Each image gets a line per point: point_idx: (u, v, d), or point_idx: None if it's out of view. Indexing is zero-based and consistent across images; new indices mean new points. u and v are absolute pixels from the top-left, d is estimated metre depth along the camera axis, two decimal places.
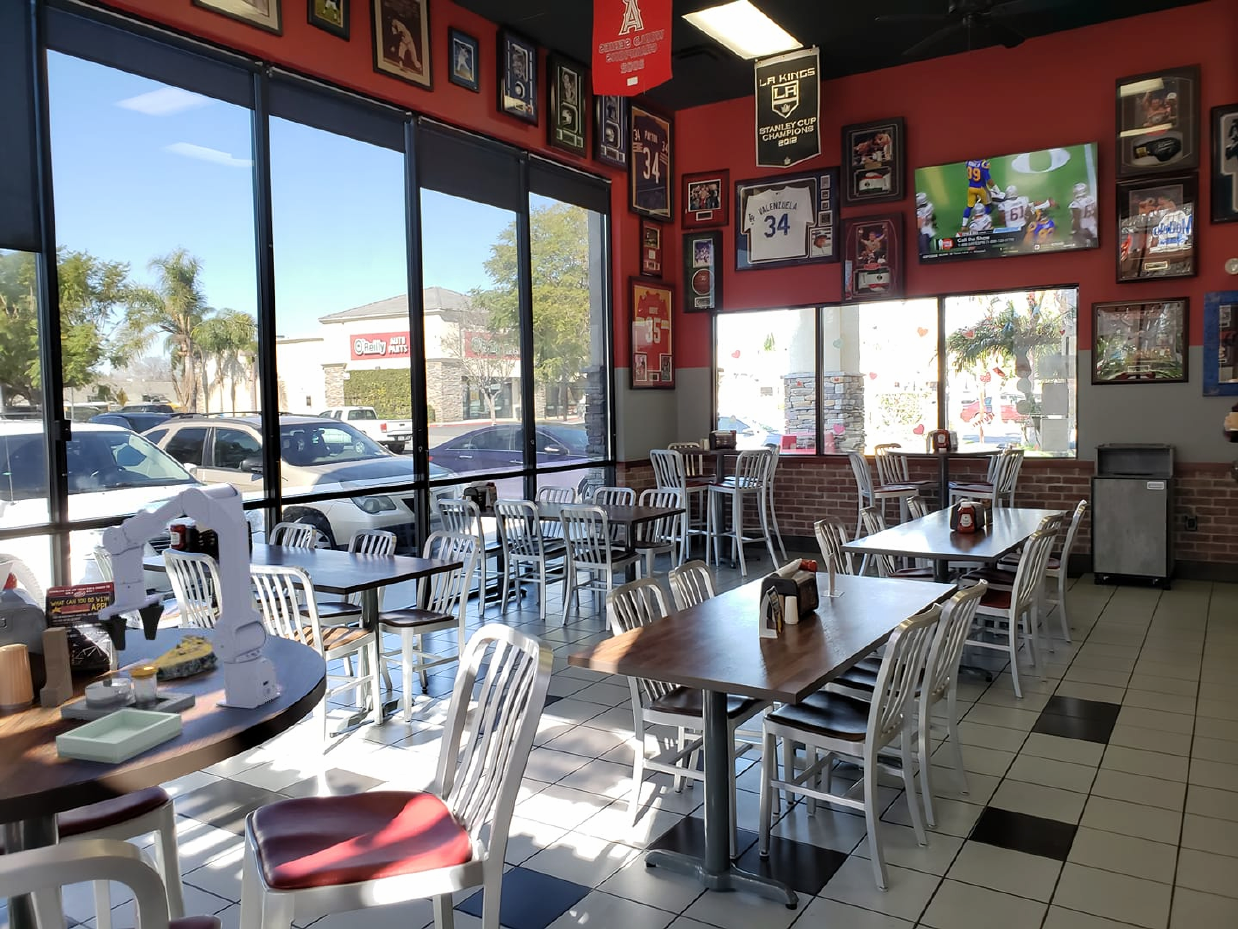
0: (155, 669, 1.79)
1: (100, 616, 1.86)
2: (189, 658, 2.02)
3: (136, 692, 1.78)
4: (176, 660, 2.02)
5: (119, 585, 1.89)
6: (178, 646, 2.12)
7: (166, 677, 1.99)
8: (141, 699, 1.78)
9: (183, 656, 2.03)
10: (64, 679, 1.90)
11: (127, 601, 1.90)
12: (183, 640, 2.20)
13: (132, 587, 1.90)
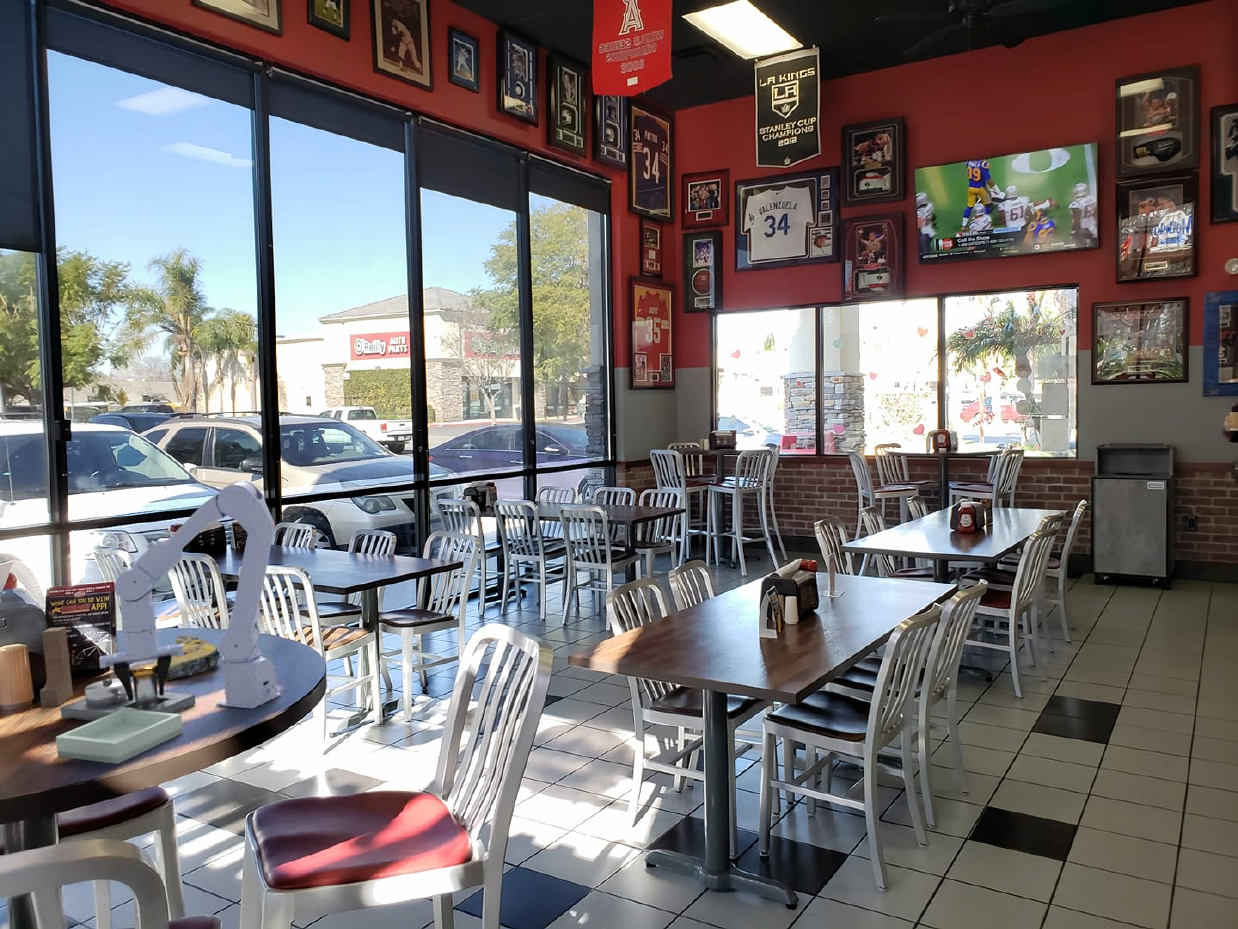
0: (155, 669, 1.79)
1: None
2: (193, 657, 2.02)
3: (136, 692, 1.78)
4: (180, 659, 2.02)
5: (123, 633, 1.77)
6: None
7: (171, 676, 1.99)
8: (141, 699, 1.78)
9: (186, 655, 2.04)
10: (64, 679, 1.90)
11: (127, 651, 1.77)
12: (178, 641, 2.19)
13: (130, 637, 1.76)
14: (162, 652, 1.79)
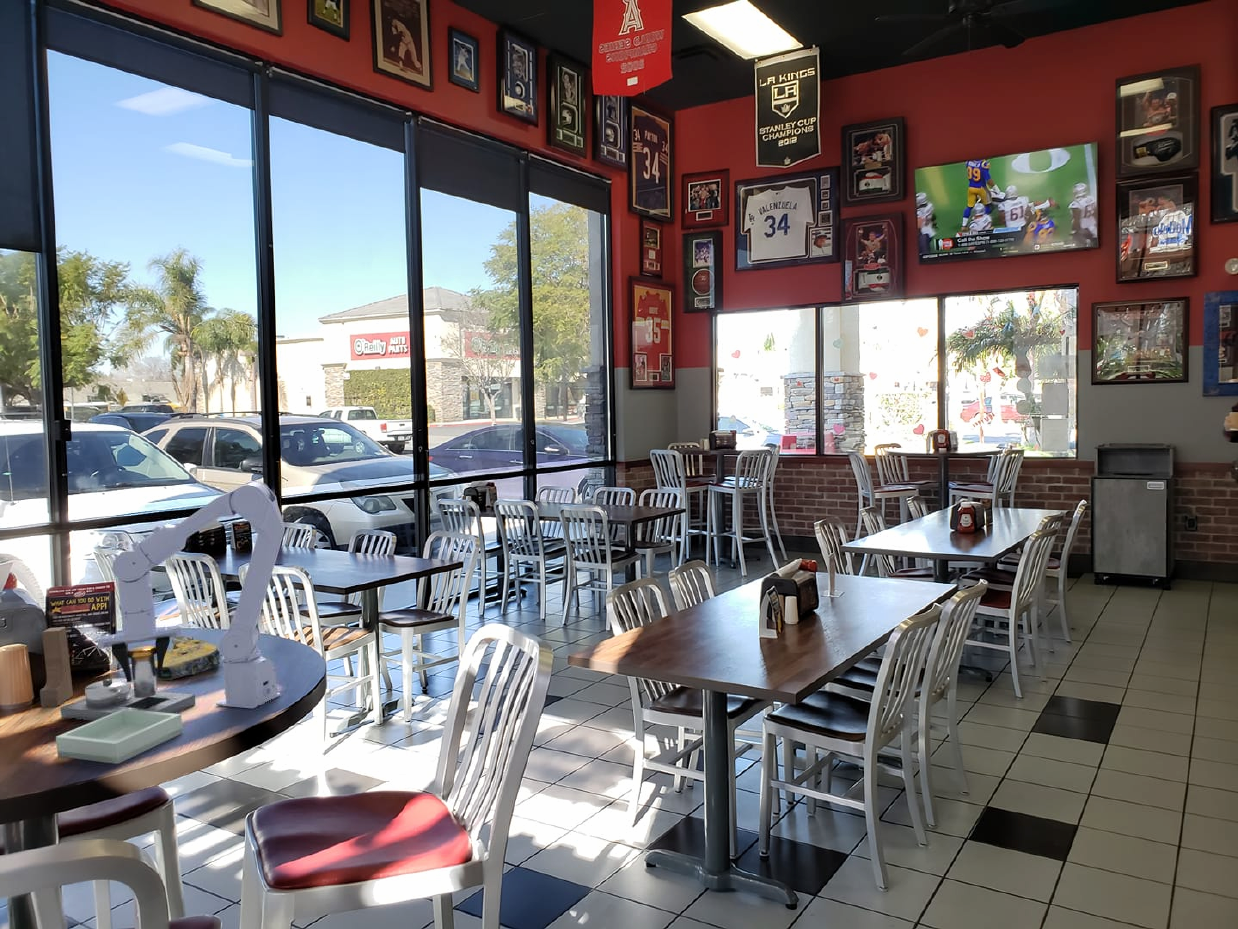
0: (153, 650, 1.79)
1: None
2: (196, 656, 2.03)
3: (134, 673, 1.78)
4: (182, 658, 2.02)
5: (121, 613, 1.77)
6: (175, 646, 2.12)
7: (174, 676, 2.00)
8: (139, 680, 1.78)
9: (188, 655, 2.04)
10: (64, 679, 1.90)
11: (125, 632, 1.76)
12: (175, 641, 2.19)
13: (128, 618, 1.76)
14: (160, 633, 1.79)
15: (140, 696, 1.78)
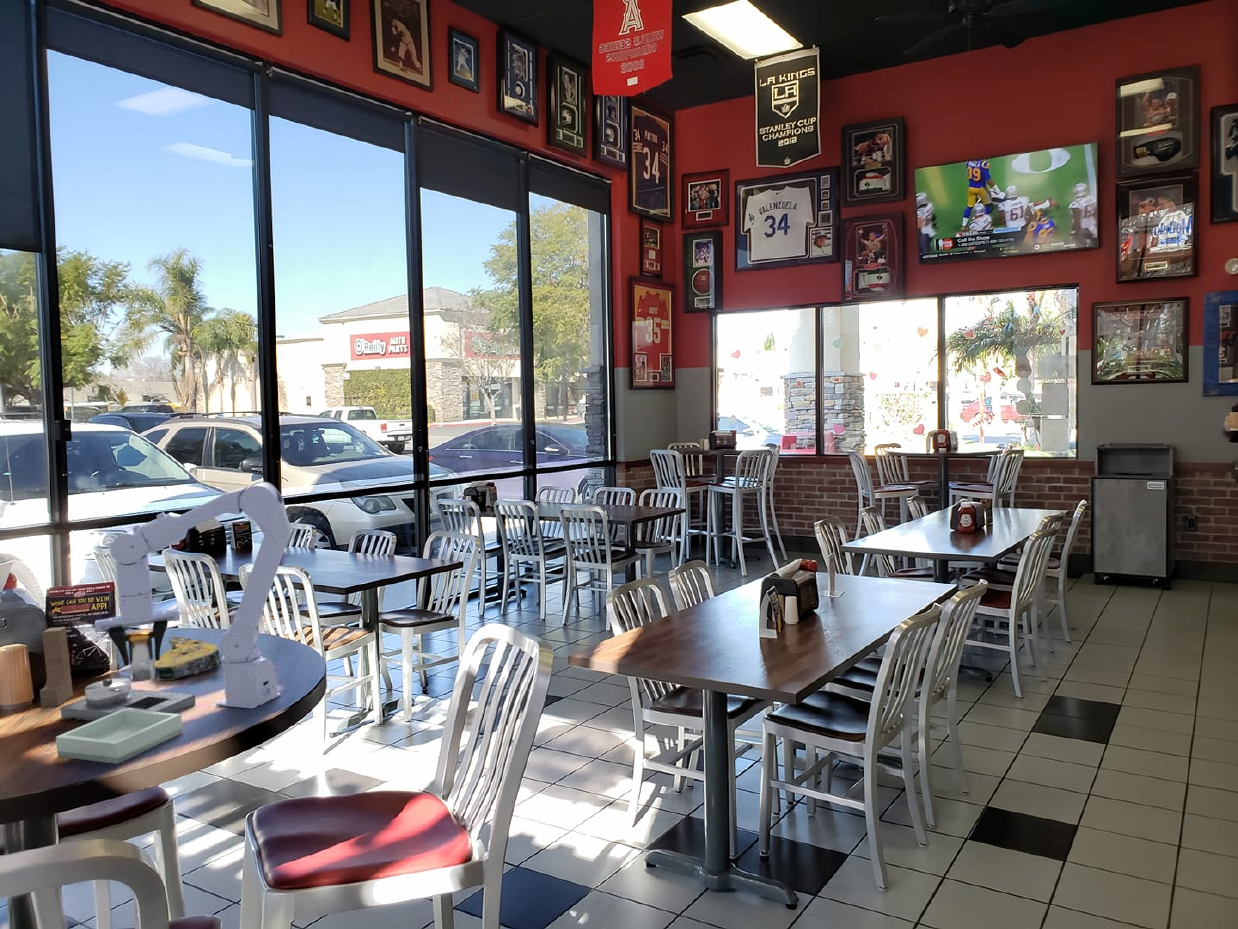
0: (151, 634, 1.78)
1: None
2: (198, 656, 2.03)
3: (131, 657, 1.77)
4: (184, 658, 2.03)
5: (119, 597, 1.76)
6: (174, 647, 2.12)
7: (176, 676, 2.00)
8: (136, 664, 1.77)
9: (190, 654, 2.04)
10: (64, 679, 1.90)
11: (123, 615, 1.76)
12: (172, 642, 2.18)
13: (126, 601, 1.75)
14: (158, 616, 1.78)
15: (137, 680, 1.77)
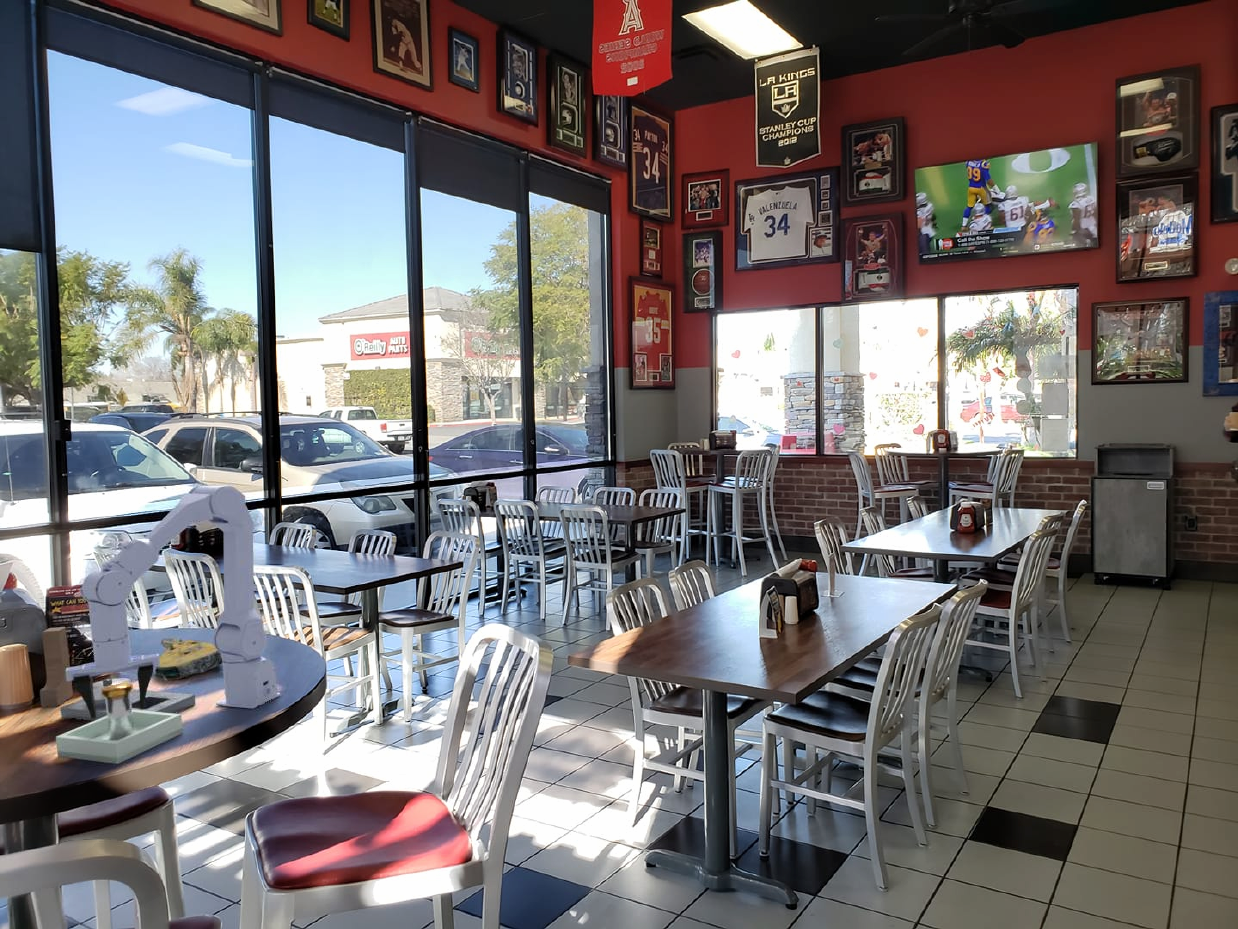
0: (129, 688, 1.64)
1: None
2: (202, 655, 2.04)
3: (108, 713, 1.63)
4: (188, 657, 2.03)
5: None
6: (172, 647, 2.11)
7: (182, 675, 2.00)
8: (113, 721, 1.63)
9: (193, 654, 2.05)
10: (64, 679, 1.90)
11: (97, 662, 1.60)
12: (166, 643, 2.18)
13: (100, 647, 1.60)
14: (136, 663, 1.63)
15: (115, 738, 1.63)
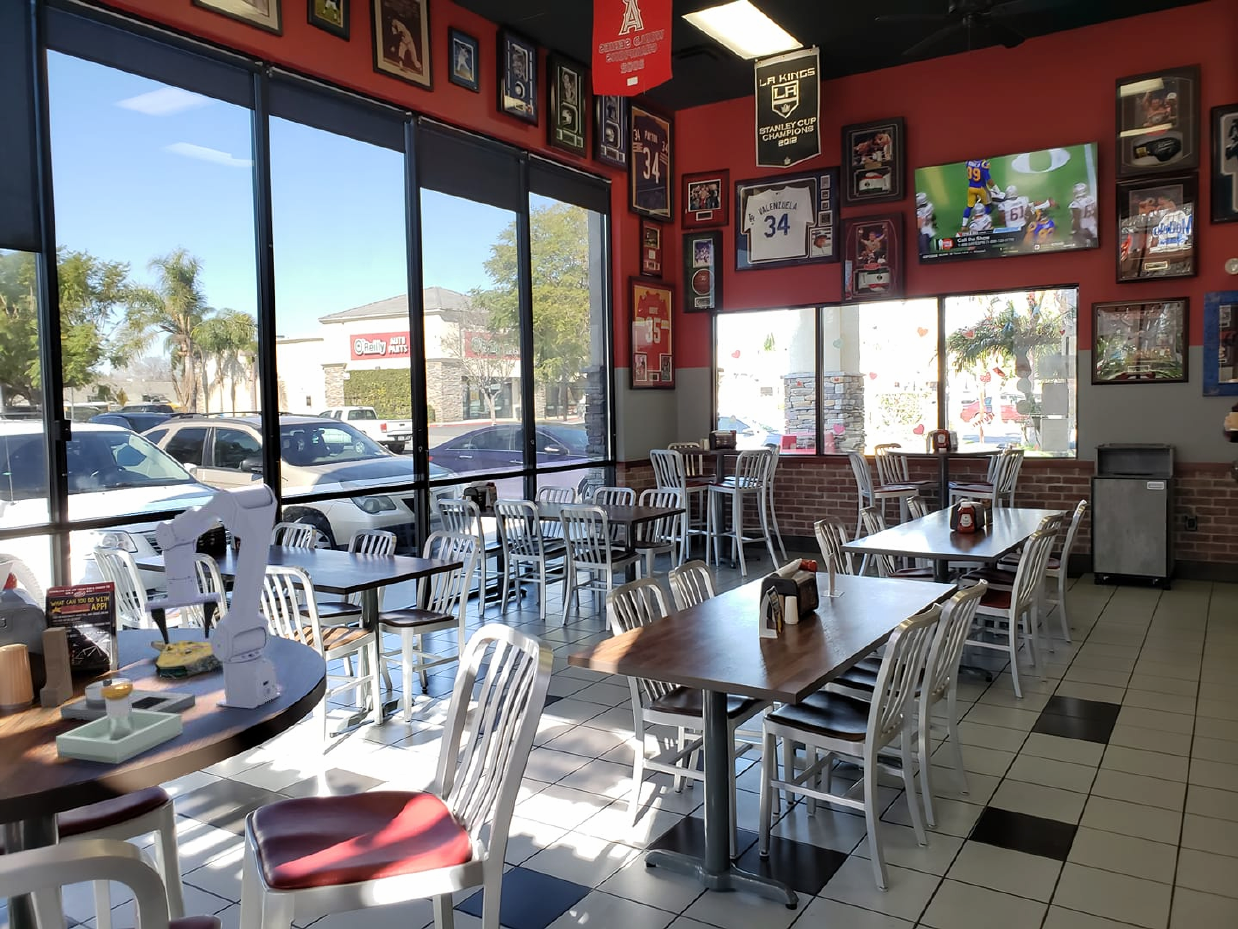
0: (129, 688, 1.64)
1: None
2: (208, 653, 2.05)
3: (108, 714, 1.63)
4: (194, 656, 2.04)
5: (166, 580, 1.91)
6: (169, 648, 2.11)
7: (190, 673, 2.01)
8: (113, 721, 1.63)
9: (198, 652, 2.06)
10: (64, 679, 1.90)
11: (170, 597, 1.90)
12: (157, 645, 2.16)
13: (173, 584, 1.89)
14: (202, 598, 1.92)
15: (115, 738, 1.63)
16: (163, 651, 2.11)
